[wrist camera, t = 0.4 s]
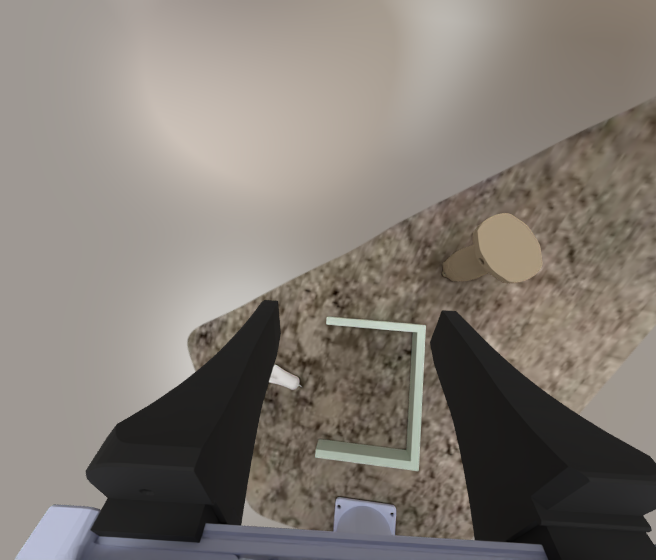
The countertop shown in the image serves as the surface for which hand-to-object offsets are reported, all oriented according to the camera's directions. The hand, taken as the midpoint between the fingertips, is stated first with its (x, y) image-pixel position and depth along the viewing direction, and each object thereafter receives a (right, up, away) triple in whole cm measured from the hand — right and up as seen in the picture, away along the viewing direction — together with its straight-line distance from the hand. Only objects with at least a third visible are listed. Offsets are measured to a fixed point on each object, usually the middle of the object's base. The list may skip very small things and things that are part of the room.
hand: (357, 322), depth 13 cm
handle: (+16, +3, +28) cm, 33 cm away
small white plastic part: (-8, -12, +29) cm, 32 cm away
